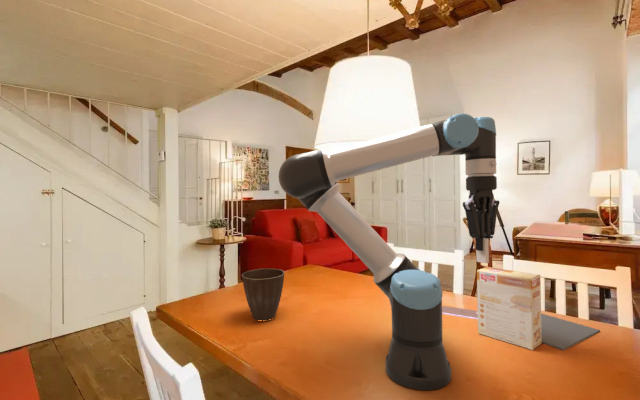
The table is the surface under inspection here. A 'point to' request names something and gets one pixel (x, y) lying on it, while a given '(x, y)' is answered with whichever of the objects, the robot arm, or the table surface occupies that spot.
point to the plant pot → (263, 291)
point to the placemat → (563, 332)
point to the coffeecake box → (509, 306)
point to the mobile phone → (460, 312)
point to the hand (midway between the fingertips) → (482, 262)
